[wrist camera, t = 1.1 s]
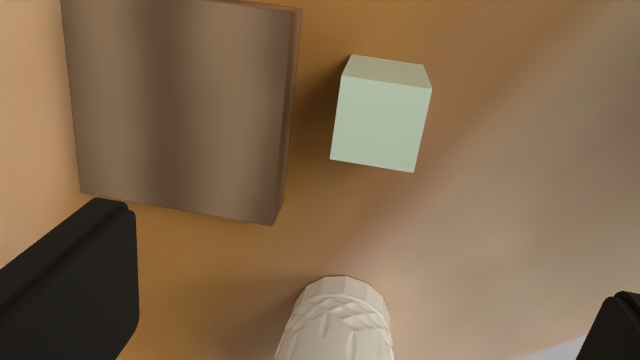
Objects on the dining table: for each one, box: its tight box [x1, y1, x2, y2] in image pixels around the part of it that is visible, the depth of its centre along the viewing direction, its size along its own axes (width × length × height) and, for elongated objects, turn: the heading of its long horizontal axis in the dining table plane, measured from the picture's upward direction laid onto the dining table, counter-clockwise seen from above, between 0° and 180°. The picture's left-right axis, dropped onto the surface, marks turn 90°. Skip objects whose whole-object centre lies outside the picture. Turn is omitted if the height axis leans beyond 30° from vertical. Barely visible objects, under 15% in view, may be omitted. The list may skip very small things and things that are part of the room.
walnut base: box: [60, 0, 302, 226], centre depth 27 cm, size 12×12×3 cm
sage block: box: [330, 54, 432, 173], centre depth 24 cm, size 4×4×6 cm
